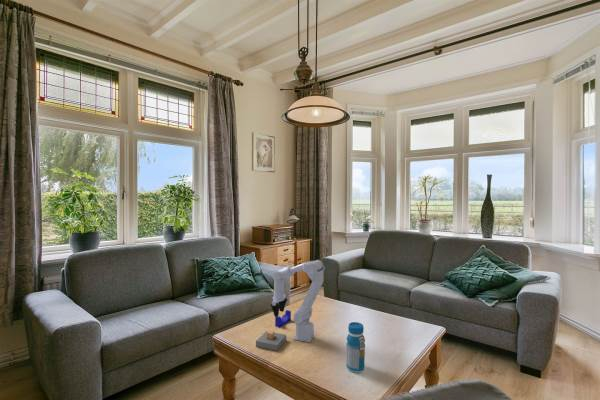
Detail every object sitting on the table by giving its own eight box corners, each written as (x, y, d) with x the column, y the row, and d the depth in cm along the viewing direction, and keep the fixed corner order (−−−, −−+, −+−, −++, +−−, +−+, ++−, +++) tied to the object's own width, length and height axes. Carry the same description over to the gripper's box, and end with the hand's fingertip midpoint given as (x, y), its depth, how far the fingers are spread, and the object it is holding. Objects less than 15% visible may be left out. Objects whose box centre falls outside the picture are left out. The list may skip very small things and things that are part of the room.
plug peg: (274, 342, 166) (274, 331, 165) (272, 345, 163) (272, 333, 163) (269, 341, 167) (269, 330, 166) (266, 344, 164) (266, 332, 164)
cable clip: (284, 318, 196) (285, 309, 196) (290, 320, 194) (290, 311, 193) (273, 325, 186) (273, 316, 186) (279, 327, 184) (279, 317, 183)
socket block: (286, 340, 168) (286, 334, 168) (276, 351, 157) (276, 345, 157) (266, 336, 172) (266, 331, 172) (255, 346, 161) (255, 340, 161)
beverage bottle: (347, 373, 138) (348, 329, 137) (344, 362, 147) (345, 320, 146) (366, 373, 138) (367, 329, 137) (362, 362, 147) (363, 321, 146)
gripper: (278, 286, 188) (278, 308, 188) (267, 293, 174) (267, 317, 175) (288, 287, 185) (288, 309, 186) (278, 295, 172) (278, 319, 172)
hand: (279, 313), depth 180 cm, fingers open, 7 cm apart
